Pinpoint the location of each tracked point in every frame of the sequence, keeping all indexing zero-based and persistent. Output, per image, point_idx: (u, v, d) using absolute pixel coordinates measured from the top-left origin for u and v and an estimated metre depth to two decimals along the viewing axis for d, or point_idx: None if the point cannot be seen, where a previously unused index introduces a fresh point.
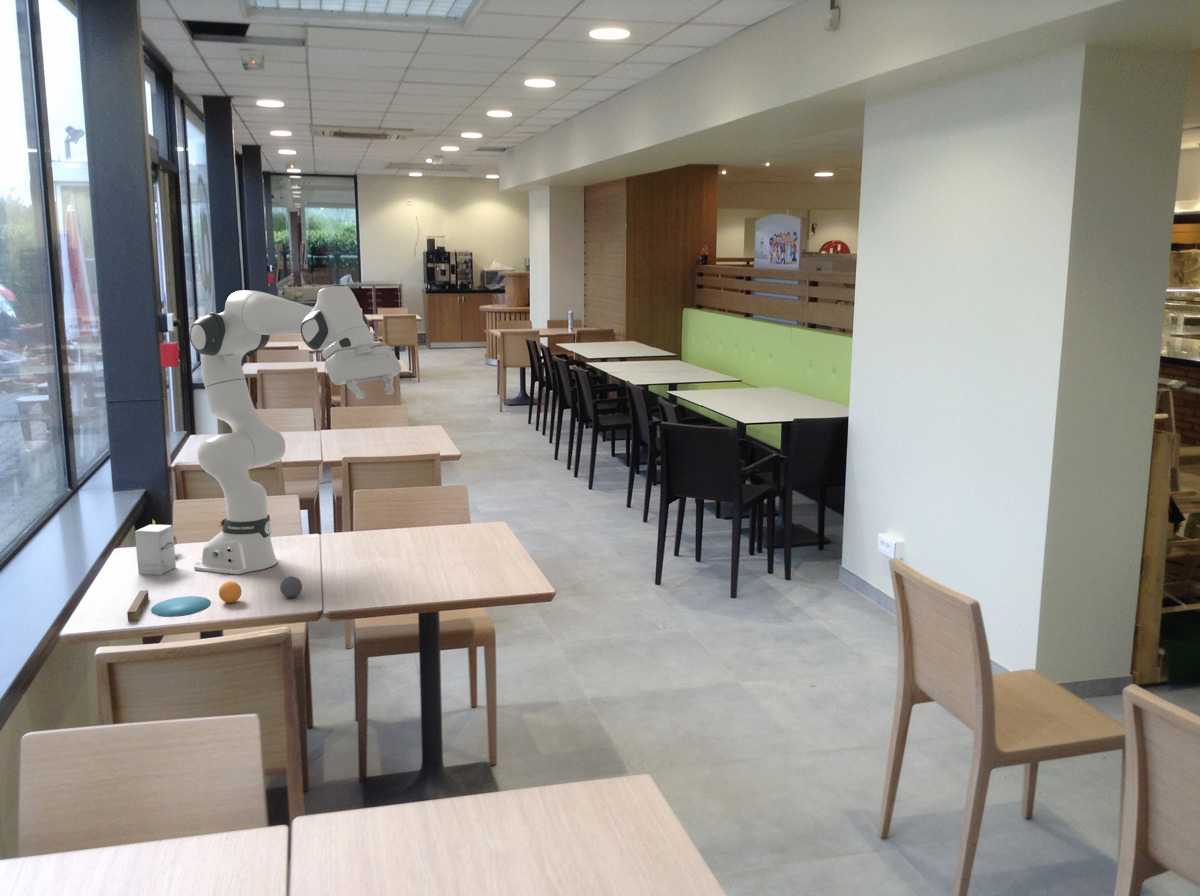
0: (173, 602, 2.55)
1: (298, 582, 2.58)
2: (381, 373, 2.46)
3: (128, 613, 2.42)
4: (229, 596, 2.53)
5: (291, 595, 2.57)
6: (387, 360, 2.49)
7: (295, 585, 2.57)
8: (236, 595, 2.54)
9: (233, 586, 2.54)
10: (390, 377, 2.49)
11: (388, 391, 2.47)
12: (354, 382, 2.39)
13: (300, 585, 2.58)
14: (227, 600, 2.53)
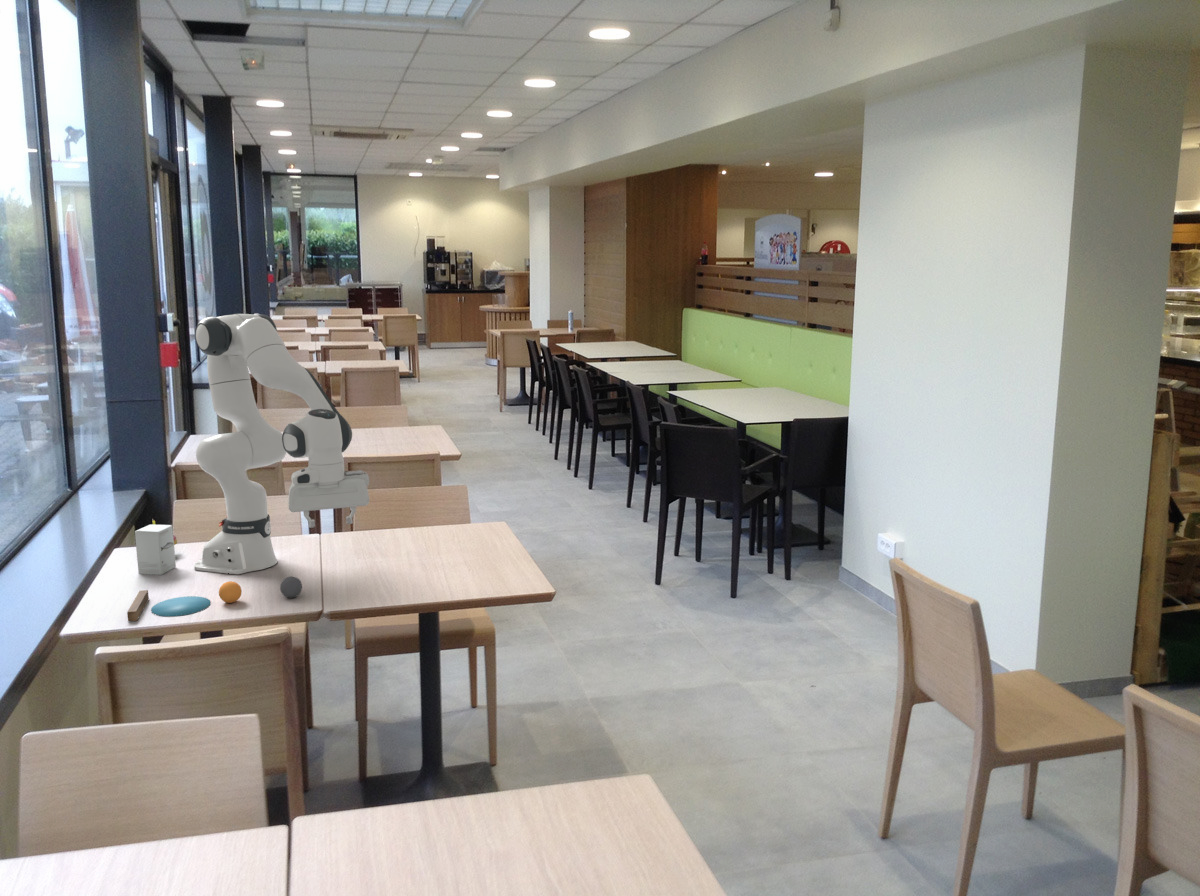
0: (173, 602, 2.55)
1: (298, 582, 2.58)
2: (341, 506, 2.55)
3: (128, 613, 2.42)
4: (229, 596, 2.53)
5: (291, 595, 2.57)
6: (354, 493, 2.56)
7: (295, 585, 2.57)
8: (236, 595, 2.54)
9: (233, 586, 2.54)
10: (352, 509, 2.57)
11: None
12: (306, 513, 2.54)
13: (300, 585, 2.58)
14: (227, 600, 2.53)
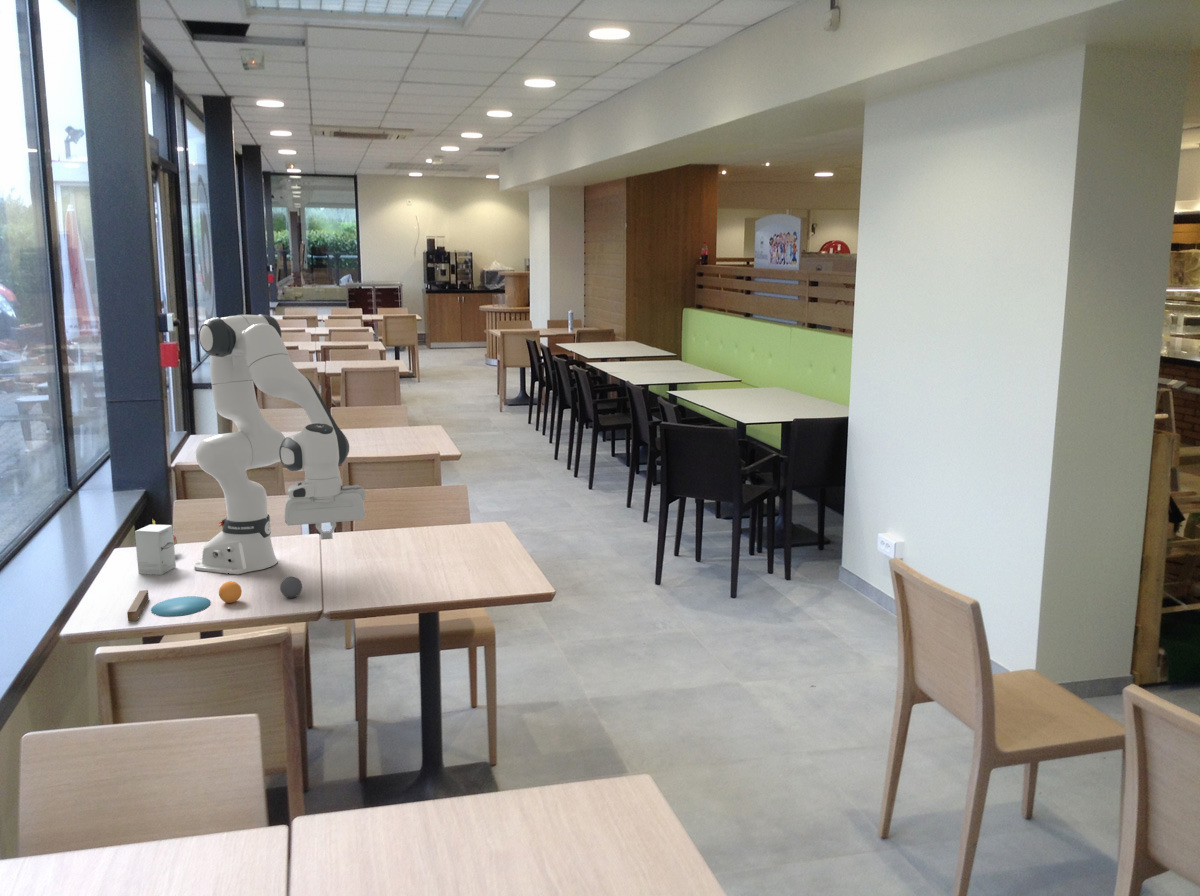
0: (173, 602, 2.55)
1: (298, 582, 2.58)
2: (336, 521, 2.57)
3: (128, 613, 2.42)
4: (229, 596, 2.53)
5: (291, 595, 2.57)
6: (349, 508, 2.57)
7: (295, 585, 2.57)
8: (236, 595, 2.54)
9: (233, 586, 2.54)
10: (332, 525, 2.57)
11: None
12: (318, 525, 2.56)
13: (300, 585, 2.58)
14: (227, 600, 2.53)
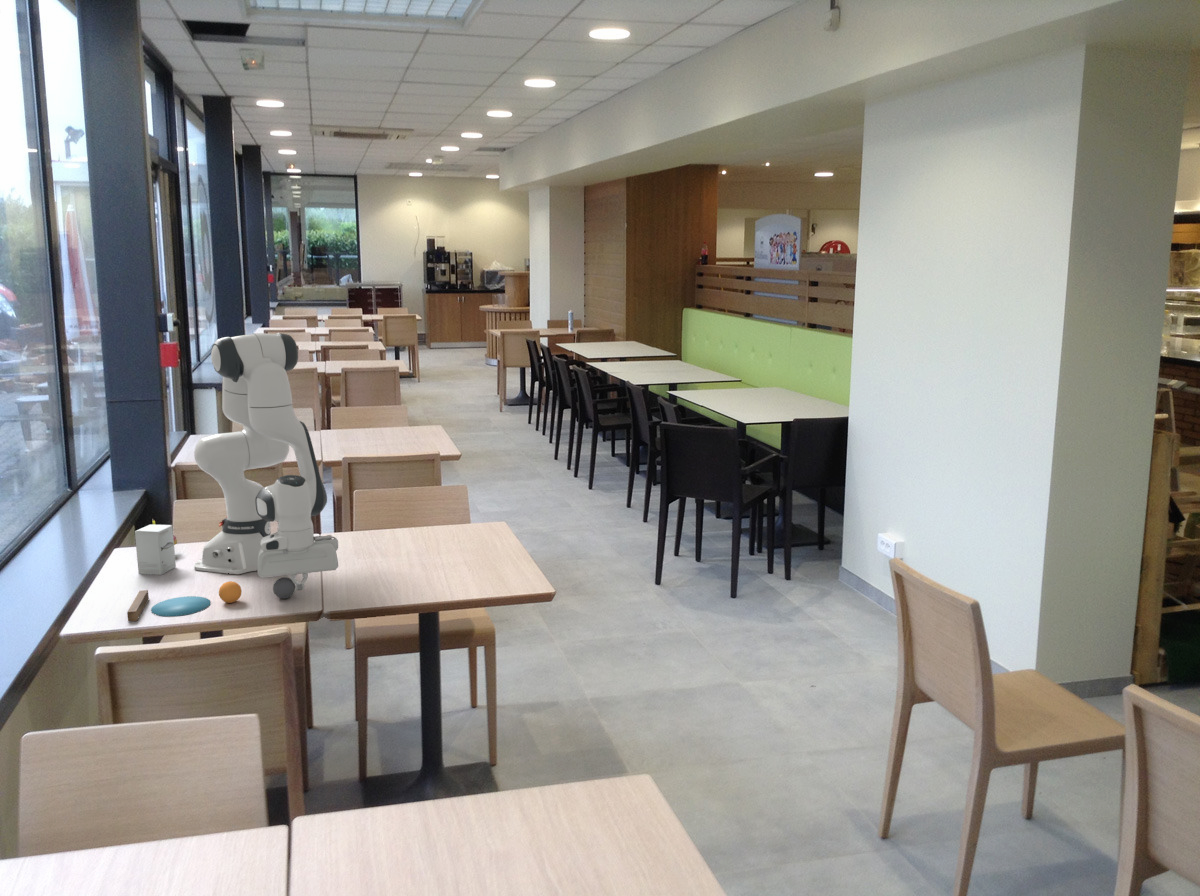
0: (173, 602, 2.55)
1: (289, 582, 2.57)
2: (310, 571, 2.58)
3: (128, 613, 2.42)
4: (229, 596, 2.53)
5: (285, 596, 2.57)
6: (323, 558, 2.58)
7: (286, 585, 2.56)
8: (236, 595, 2.54)
9: (233, 586, 2.54)
10: (304, 576, 2.58)
11: None
12: (293, 577, 2.57)
13: (292, 584, 2.57)
14: (227, 600, 2.53)
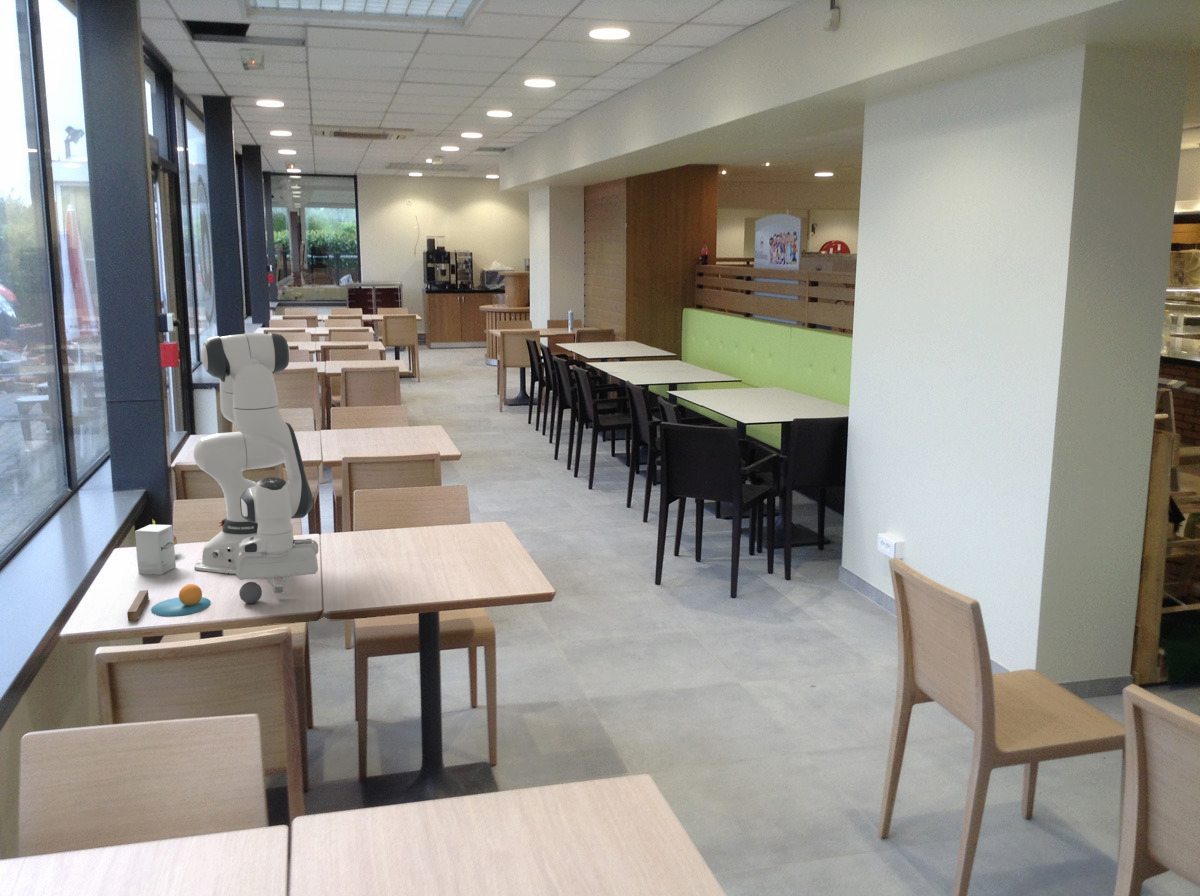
0: (173, 602, 2.55)
1: None
2: (289, 575, 2.57)
3: (128, 613, 2.42)
4: (187, 598, 2.50)
5: (251, 593, 2.52)
6: (302, 562, 2.57)
7: (246, 602, 2.53)
8: (181, 598, 2.51)
9: (188, 605, 2.52)
10: (285, 578, 2.57)
11: None
12: (270, 579, 2.56)
13: (241, 598, 2.53)
14: (188, 592, 2.51)
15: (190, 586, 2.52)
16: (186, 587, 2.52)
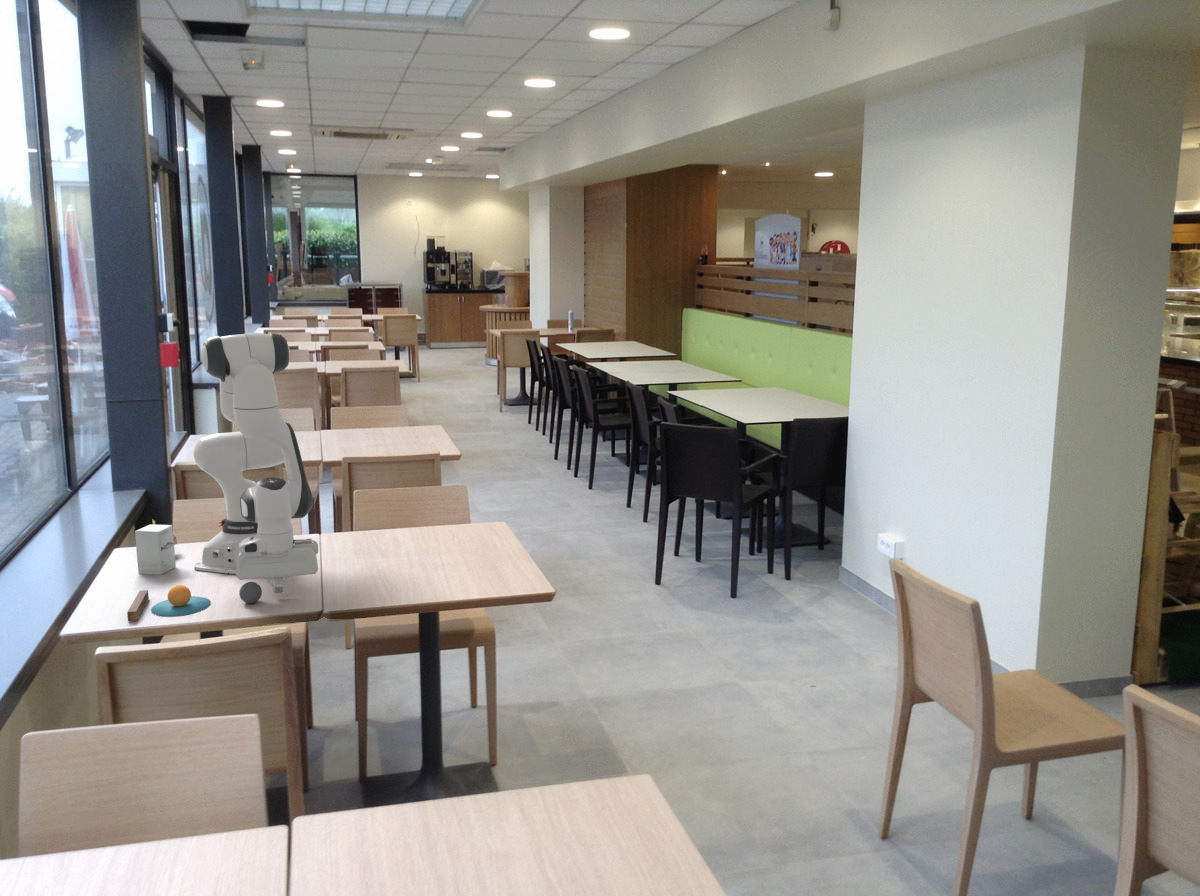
0: None
1: None
2: (289, 575, 2.57)
3: (128, 613, 2.42)
4: (176, 599, 2.50)
5: (251, 593, 2.52)
6: (302, 562, 2.57)
7: (246, 602, 2.53)
8: (174, 604, 2.51)
9: (185, 603, 2.52)
10: (285, 578, 2.57)
11: None
12: (270, 579, 2.56)
13: (241, 598, 2.53)
14: (172, 595, 2.50)
15: (170, 591, 2.51)
16: (168, 594, 2.51)
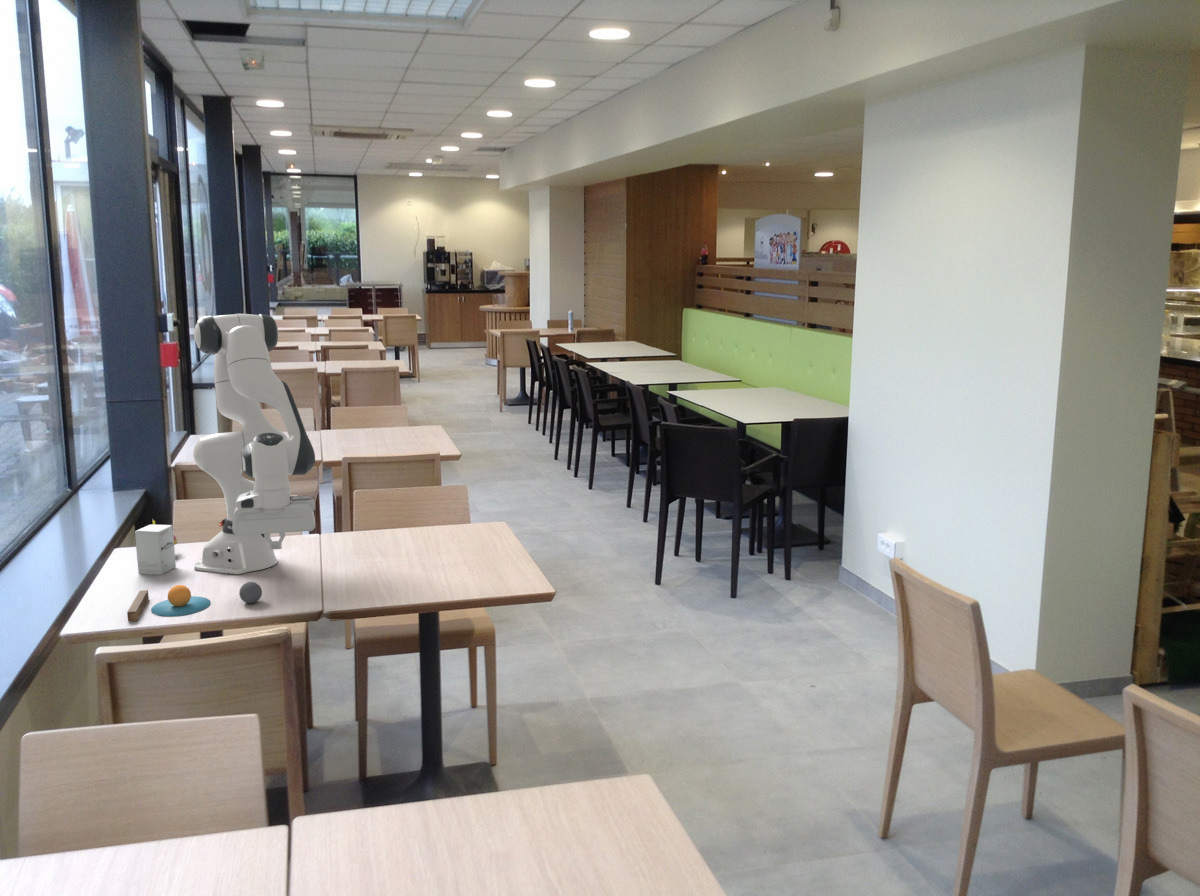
0: None
1: None
2: (285, 531, 2.55)
3: (128, 613, 2.42)
4: (176, 599, 2.50)
5: (251, 593, 2.52)
6: (299, 519, 2.55)
7: (246, 602, 2.53)
8: (174, 604, 2.51)
9: (185, 603, 2.52)
10: (281, 535, 2.55)
11: None
12: (267, 536, 2.54)
13: (241, 598, 2.53)
14: (172, 595, 2.50)
15: (170, 591, 2.51)
16: (168, 594, 2.51)
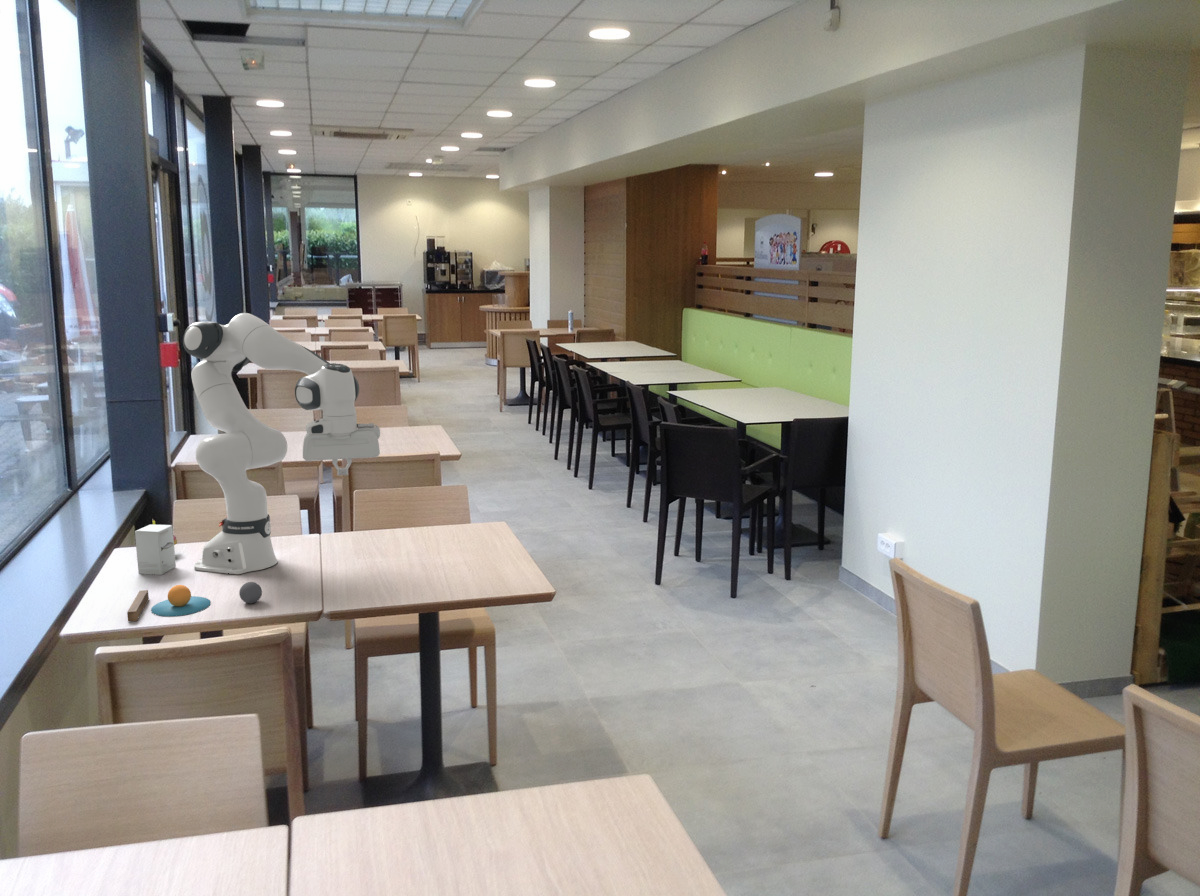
0: None
1: None
2: (352, 457, 2.67)
3: (128, 613, 2.42)
4: (176, 599, 2.50)
5: (251, 593, 2.52)
6: (365, 445, 2.68)
7: (246, 602, 2.53)
8: (174, 604, 2.51)
9: (185, 603, 2.52)
10: (348, 461, 2.68)
11: None
12: (335, 462, 2.67)
13: (241, 598, 2.53)
14: (172, 595, 2.50)
15: (170, 591, 2.51)
16: (168, 594, 2.51)
